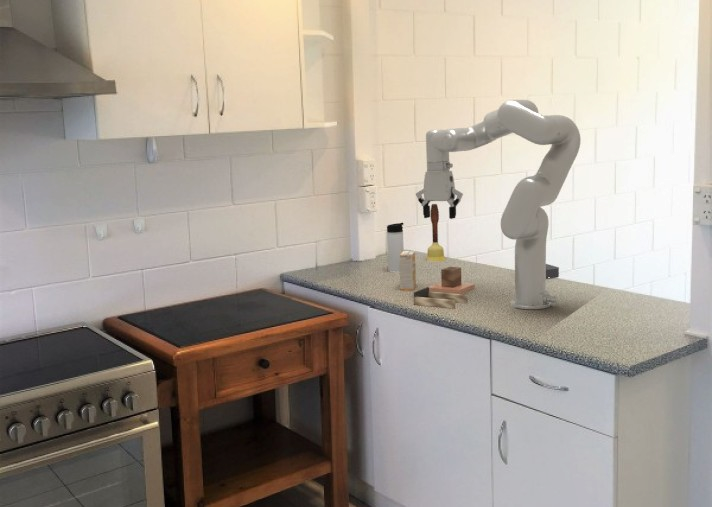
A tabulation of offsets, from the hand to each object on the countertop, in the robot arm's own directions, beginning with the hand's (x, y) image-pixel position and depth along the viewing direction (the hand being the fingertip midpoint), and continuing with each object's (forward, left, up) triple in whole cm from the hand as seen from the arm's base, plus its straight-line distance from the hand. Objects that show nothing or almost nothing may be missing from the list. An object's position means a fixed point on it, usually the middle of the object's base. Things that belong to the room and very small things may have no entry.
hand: (439, 218), depth 271 cm
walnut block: (-2, -4, -24) cm, 24 cm away
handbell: (+29, -50, -26) cm, 63 cm away
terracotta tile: (-2, -4, -26) cm, 26 cm away
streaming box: (-20, -36, -26) cm, 49 cm away
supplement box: (+14, -2, -26) cm, 30 cm away
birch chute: (-7, +15, -26) cm, 31 cm away
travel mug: (+33, -25, -26) cm, 49 cm away
